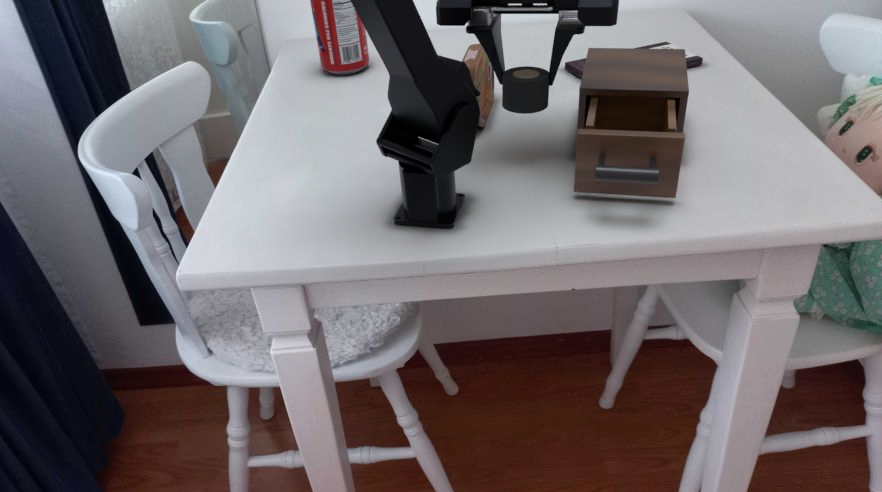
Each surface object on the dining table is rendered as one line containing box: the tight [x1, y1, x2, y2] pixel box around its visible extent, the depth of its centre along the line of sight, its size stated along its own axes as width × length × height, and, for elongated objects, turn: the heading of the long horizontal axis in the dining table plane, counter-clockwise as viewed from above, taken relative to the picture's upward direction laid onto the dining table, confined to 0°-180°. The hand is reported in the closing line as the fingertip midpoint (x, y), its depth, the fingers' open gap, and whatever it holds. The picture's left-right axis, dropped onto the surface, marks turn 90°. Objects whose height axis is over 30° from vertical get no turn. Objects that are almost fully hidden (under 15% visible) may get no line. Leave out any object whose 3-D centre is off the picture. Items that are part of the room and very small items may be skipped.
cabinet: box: [575, 47, 690, 145], centre depth 84 cm, size 14×12×9 cm
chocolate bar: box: [564, 41, 704, 80], centre depth 105 cm, size 9×1×18 cm
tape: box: [501, 65, 550, 115], centre depth 78 cm, size 5×5×4 cm
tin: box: [461, 43, 495, 128], centre depth 93 cm, size 15×3×8 cm, turn 168°
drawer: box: [573, 95, 686, 199], centre depth 74 cm, size 17×10×7 cm, turn 166°
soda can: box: [309, 0, 370, 76], centre depth 109 cm, size 8×8×15 cm
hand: (526, 83), depth 78 cm, fingers closed on tape, 5 cm apart
